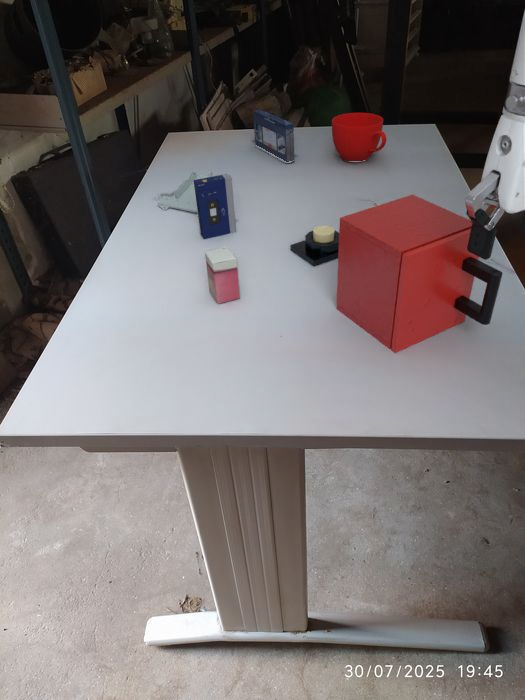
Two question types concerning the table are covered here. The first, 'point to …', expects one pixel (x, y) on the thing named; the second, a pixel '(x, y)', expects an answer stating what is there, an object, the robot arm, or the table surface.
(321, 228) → the yellow button cap
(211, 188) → the cassette player
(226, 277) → the small box
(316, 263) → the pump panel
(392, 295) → the cabinet
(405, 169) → the table surface
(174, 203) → the metal bracket
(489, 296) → the door
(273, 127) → the vhs cassette tape
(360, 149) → the ceramic cup
